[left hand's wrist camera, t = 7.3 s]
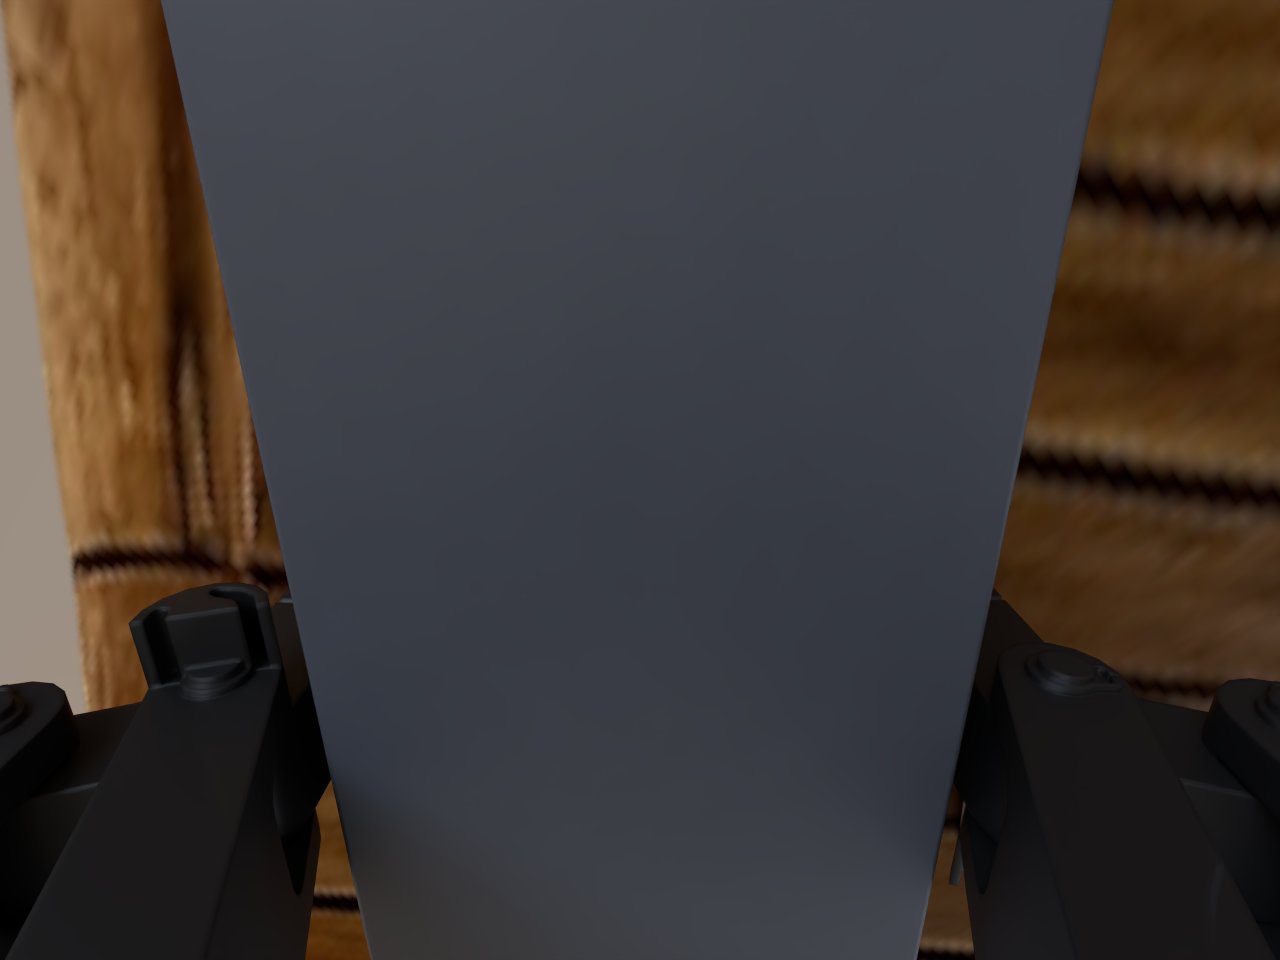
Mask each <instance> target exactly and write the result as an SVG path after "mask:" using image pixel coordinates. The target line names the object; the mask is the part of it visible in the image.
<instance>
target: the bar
mask: <svg viewBox="0 0 1280 960" xmlns="http://www.w3.org/2000/svg"><path fill="white" fill-rule="evenodd" d="M161 2H162V7H163V11H164V16H165V20H166V25H167V30H168V34H169V39H170V43H171V48H172V53H173V57H174V62H175V66H176V71H177V75H178V80H179V85H180V89H181V94H182V98H183V103H184V107H185V112H186V117H187V121H188V126H189V130H190V135H191V139H192V144H193V149H194V153H195V158H196V162H197V167H198V172H199V176H200V181H201V185H202V190H203V194H204V199H205V204H206V208H207V213H208V217H209V222H210V226H211V231H212V236H213V240H214V245H215V249H216V254H217V258H218V263H219V268H220V272H221V277H222V281H223V286H224V291H225V295H226V300H227V304H228V309H229V313H230V318H231V323H232V327H233V332H234V336H235V341H236V345H237V350H238V355H239V359H240V364H241V368H242V373H243V377H244V382H245V387H246V391H247V396H248V400H249V405H250V410H251V414H252V419H253V423H254V428H255V432H256V437H257V442H258V446H259V451H260V455H261V460H262V464H263V469H264V474H265V478H266V483H267V487H268V492H269V496H270V501H271V506H272V510H273V515H274V519H275V524H276V529H277V533H278V538H279V542H280V547H281V551H282V556H283V561H284V565H285V570H286V574H287V579H288V583H289V588H290V593H291V597H292V602H293V606H294V611H295V615H296V620H297V625H298V629H299V634H300V638H301V643H302V648H303V652H304V657H305V661H306V666H307V670H308V675H309V680H310V684H311V689H312V693H313V698H314V702H315V707H316V712H317V716H318V721H319V725H320V730H321V735H322V739H323V744H324V748H325V753H326V757H327V762H328V767H329V771H330V776H331V780H332V785H333V789H334V794H335V799H336V803H337V808H338V812H339V817H340V821H341V826H342V831H343V835H344V840H345V844H346V849H347V853H348V858H349V863H350V867H351V872H352V876H353V881H354V886H355V890H356V895H357V899H358V904H359V908H360V913H361V918H362V922H363V927H364V931H365V936H366V940H367V945H368V950H369V954H370V959H371V960H916V959H917V954H918V950H919V945H920V940H921V935H922V930H923V925H924V920H925V916H926V911H927V906H928V901H929V896H930V891H931V886H932V882H933V877H934V872H935V867H936V862H937V857H938V852H939V848H940V843H941V838H942V833H943V828H944V823H945V818H946V813H947V809H948V804H949V799H950V794H951V789H952V784H953V779H954V775H955V770H956V765H957V760H958V755H959V750H960V745H961V741H962V736H963V731H964V726H965V721H966V716H967V711H968V707H969V702H970V697H971V692H972V687H973V682H974V677H975V673H976V668H977V663H978V658H979V653H980V648H981V643H982V638H983V634H984V629H985V624H986V619H987V614H988V609H989V604H990V600H991V595H992V590H993V585H994V580H995V575H996V570H997V566H998V561H999V556H1000V551H1001V546H1002V541H1003V536H1004V532H1005V527H1006V522H1007V517H1008V512H1009V507H1010V502H1011V498H1012V493H1013V488H1014V483H1015V478H1016V473H1017V468H1018V463H1019V459H1020V454H1021V449H1022V444H1023V439H1024V434H1025V429H1026V425H1027V420H1028V415H1029V410H1030V405H1031V400H1032V395H1033V391H1034V386H1035V381H1036V376H1037V371H1038V366H1039V361H1040V357H1041V352H1042V347H1043V342H1044V337H1045V332H1046V327H1047V323H1048V318H1049V313H1050V308H1051V303H1052V298H1053V293H1054V289H1055V284H1056V279H1057V274H1058V269H1059V264H1060V259H1061V254H1062V250H1063V245H1064V240H1065V235H1066V230H1067V225H1068V220H1069V216H1070V211H1071V206H1072V201H1073V196H1074V191H1075V186H1076V182H1077V177H1078V172H1079V167H1080V162H1081V157H1082V152H1083V148H1084V143H1085V138H1086V133H1087V128H1088V123H1089V118H1090V114H1091V109H1092V104H1093V99H1094V94H1095V89H1096V84H1097V79H1098V75H1099V70H1100V65H1101V60H1102V55H1103V50H1104V45H1105V41H1106V36H1107V31H1108V26H1109V21H1110V16H1111V11H1112V7H1113V2H1114V0H161Z"/></svg>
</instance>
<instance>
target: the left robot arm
mask: <svg viewBox="0 0 1280 960" xmlns="http://www.w3.org/2000/svg"><path fill="white" fill-rule="evenodd" d="M129 627H130V630H131V633H132V636H133V639H134V643H135V646H136V649H137V652H138V655H139V659H140V662H141V665H142V668H143V671H144V674H145V678H146V681H147V684H148V687H149V689H148V691H147V693H146V695H145V697H144V699H143V700H142V702H138V703H134V704H129V705H124V706H118V707H113V708H108V709H103V710H98V711H93V712H88V713H82V714H77V715H73V713H72V710H71V707H70V704H69V702H68V699H67V696H66V694H65V691H64V690H62V689H61V688H59V687H58V686H56V685H55V684H53V683H44V682H26V683H19V684H11V685H1V686H0V960H305V955H306V948H307V940H308V933H309V925H310V918H311V910H312V902H313V895H314V887H315V880H316V872H317V864H318V857H319V849H320V842H321V835H320V828H319V822H318V817H317V813H316V809H315V808H316V806H317V804H318V802H319V800H320V799H321V797H322V795H323V793H324V791H325V789H326V787H327V786H328V784H329V782H330V780H331V776H330V771H329V767H328V762H327V757H326V753H325V748H324V744H323V739H322V735H321V730H320V725H319V721H318V716H317V712H316V707H315V702H314V698H313V693H312V689H311V684H310V680H309V675H308V670H307V666H306V661H305V657H304V652H303V648H302V643H301V638H300V634H299V629H298V625H297V620H296V615H295V611H294V606H293V602H292V597H291V593H290V588H289V589H288V591H287V592H286V593H285V594H284V595H283V596H282V597H281V598H280V603H276V604H275V605H274V606H273V607H272V608H270V603H269V599H268V595H267V592H265V591H264V590H262V589H261V588H260V587H258V586H257V585H251V584H245V583H240V582H234V583H215V584H210V585H206V586H201V587H196V588H191V589H188V590H185V591H182V592H179V593H177V594H174V595H171V596H168V597H165V598H163V599H161V600H159V601H158V602H156V603H154V604H152V605H151V606H149V607H147V608H145V609H143V610H142V611H141V612H140V613H139V614H138V615H137V616H136V617H135V618H134V619H133V620H132V621H131V622H130V623H129ZM953 783H954V784H955V786H956V788H957V790H958V792H959V794H960V795H961V797H962V799H963V801H964V803H965V809H964V813H963V817H962V822H961V826H960V831H959V835H958V840H957V844H956V849H955V853H954V858H953V862H952V866H951V872H950V879H949V884H951V885H955V886H959V883H960V878H961V874H962V871H963V870H964V878H965V885H966V893H967V901H968V908H969V916H970V923H971V931H972V938H973V946H974V953H975V960H1280V682H1277V681H1274V682H1272V681H1265V680H1258V679H1251V678H1248V679H1237V680H1228V681H1227V682H1225V683H1224V684H1222V685H1221V686H1219V687H1218V688H1217V691H1216V693H1215V696H1214V699H1213V701H1212V704H1211V707H1210V710H1209V712H1205V711H1199V710H1194V709H1189V708H1184V707H1179V706H1174V705H1168V704H1163V703H1158V702H1153V701H1148V700H1144V699H1140V698H1137V697H1136V695H1135V693H1134V692H1133V690H1132V688H1131V687H1130V685H1129V684H1128V683H1127V682H1126V681H1125V680H1124V678H1123V677H1122V676H1121V675H1120V674H1119V673H1118V672H1117V671H1115V670H1114V669H1112V668H1111V667H1109V666H1108V665H1106V664H1105V663H1103V662H1102V661H1100V660H1099V659H1096V658H1094V657H1092V656H1089V655H1087V654H1085V653H1082V652H1080V651H1078V650H1075V649H1072V648H1068V647H1064V646H1059V645H1055V644H1051V643H1044V642H1043V641H1042V640H1041V639H1040V637H1039V636H1038V635H1037V634H1036V633H1035V632H1034V631H1033V630H1032V629H1031V628H1030V627H1029V626H1028V624H1027V623H1026V622H1025V621H1024V620H1023V619H1022V618H1021V617H1020V616H1019V615H1018V614H1017V613H1016V612H1015V610H1014V609H1013V608H1012V607H1011V606H1010V605H1009V604H1008V603H1007V602H1006V601H1005V600H1002V599H1001V595H1000V594H999V593H998V592H997V591H996V590H995V589H994V588H993V590H992V595H991V600H990V604H989V609H988V614H987V619H986V624H985V629H984V634H983V638H982V643H981V648H980V653H979V658H978V663H977V668H976V673H975V677H974V682H973V687H972V692H971V697H970V702H969V707H968V711H967V716H966V721H965V726H964V731H963V736H962V741H961V745H960V750H959V755H958V760H957V765H956V770H955V775H954V779H953Z"/></svg>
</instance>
